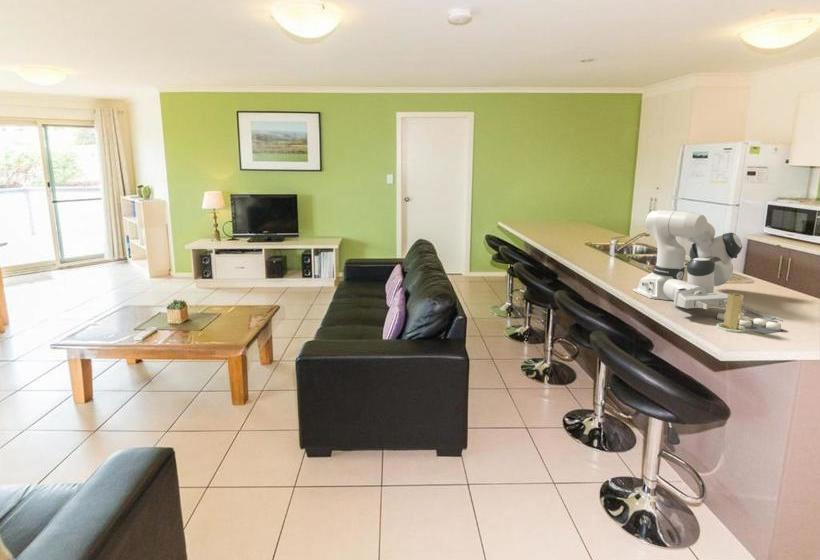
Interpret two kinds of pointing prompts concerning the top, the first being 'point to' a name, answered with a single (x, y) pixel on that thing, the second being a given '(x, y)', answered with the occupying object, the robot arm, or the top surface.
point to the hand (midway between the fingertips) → (719, 306)
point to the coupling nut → (733, 311)
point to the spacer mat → (758, 329)
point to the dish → (730, 329)
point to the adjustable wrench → (761, 314)
